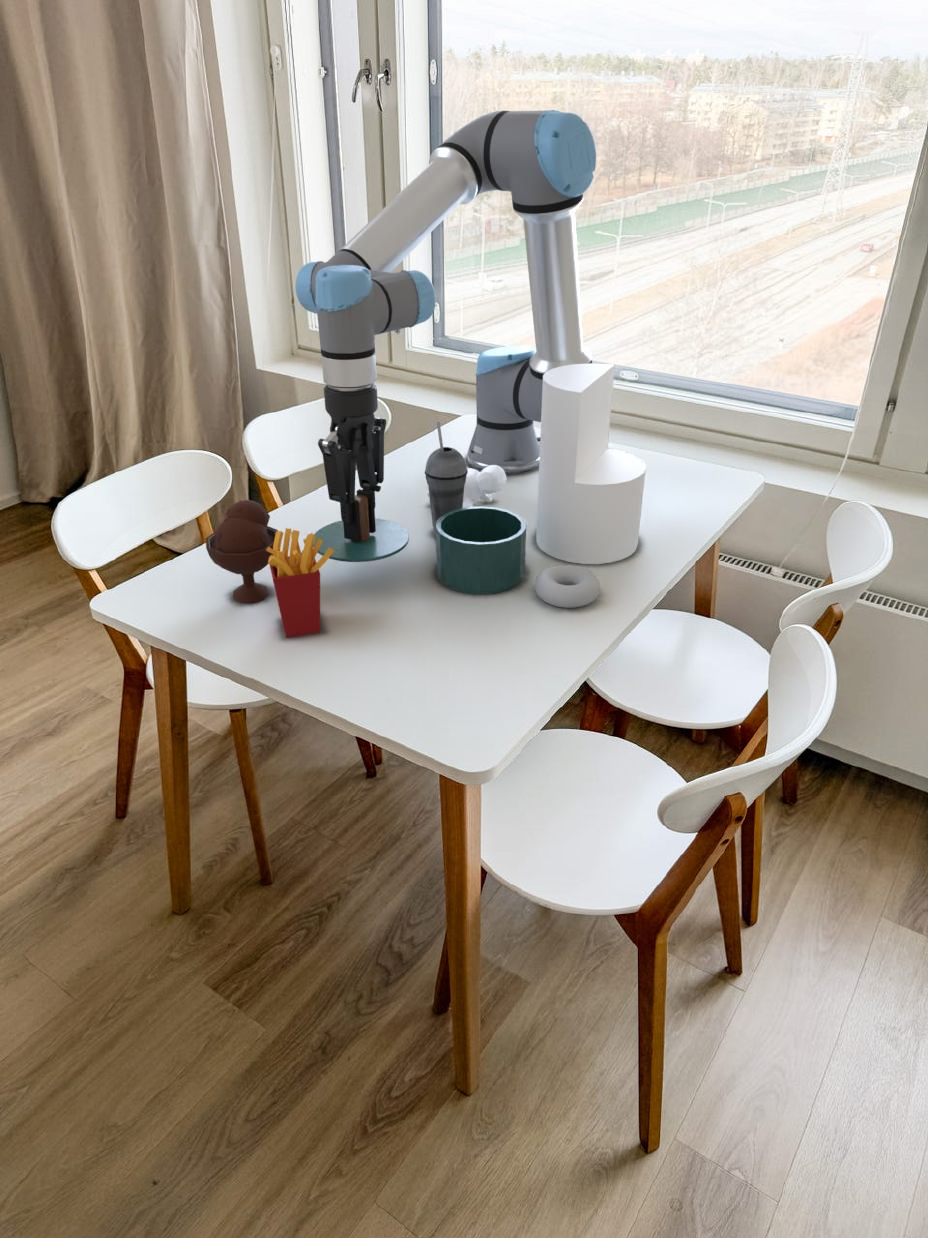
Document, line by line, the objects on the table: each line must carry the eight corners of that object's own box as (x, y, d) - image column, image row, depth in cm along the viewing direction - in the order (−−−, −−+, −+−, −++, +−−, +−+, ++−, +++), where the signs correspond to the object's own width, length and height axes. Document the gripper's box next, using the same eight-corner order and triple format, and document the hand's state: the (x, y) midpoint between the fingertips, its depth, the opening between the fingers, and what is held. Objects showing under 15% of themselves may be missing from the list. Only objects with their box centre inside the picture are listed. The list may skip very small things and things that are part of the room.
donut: (543, 576, 139) (525, 605, 131) (544, 557, 138) (526, 584, 130) (605, 587, 136) (591, 616, 128) (607, 567, 135) (593, 595, 127)
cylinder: (520, 552, 147) (526, 385, 132) (556, 513, 160) (564, 358, 146) (620, 572, 140) (637, 399, 126) (649, 530, 154) (667, 370, 139)
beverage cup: (463, 544, 149) (462, 430, 139) (421, 541, 150) (418, 428, 140) (471, 526, 155) (471, 416, 145) (431, 523, 157) (428, 414, 146)
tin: (465, 546, 149) (465, 499, 144) (540, 566, 142) (542, 518, 138) (419, 579, 138) (417, 530, 134) (497, 603, 132) (498, 552, 128)
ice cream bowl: (224, 577, 139) (209, 489, 132) (293, 578, 139) (283, 490, 131) (204, 611, 130) (188, 518, 122) (279, 612, 130) (267, 519, 122)
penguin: (433, 524, 163) (501, 511, 155) (417, 481, 160) (486, 465, 152) (455, 508, 170) (521, 494, 161) (440, 466, 167) (507, 450, 159)
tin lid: (352, 516, 146) (349, 473, 142) (427, 537, 139) (426, 492, 135) (292, 550, 135) (287, 505, 131) (370, 574, 128) (367, 527, 124)
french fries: (279, 642, 123) (267, 545, 115) (273, 613, 129) (261, 520, 122) (342, 632, 125) (333, 537, 117) (332, 605, 132) (324, 513, 124)
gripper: (363, 367, 132) (372, 511, 143) (291, 393, 120) (307, 548, 132) (404, 374, 128) (409, 521, 140) (334, 402, 116) (346, 560, 128)
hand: (360, 534), depth 136 cm, fingers closed on tin lid, 3 cm apart
